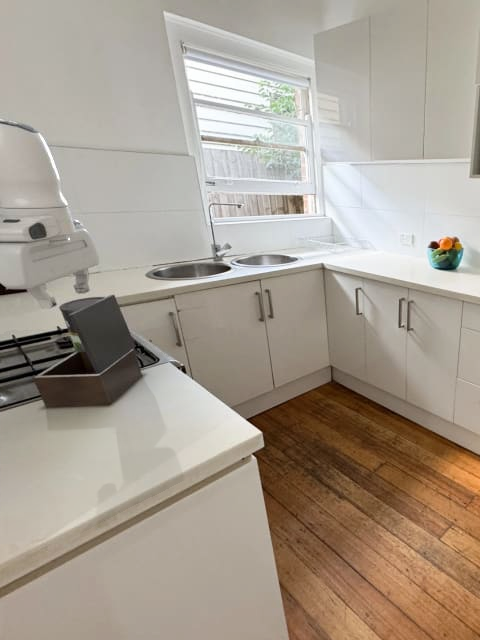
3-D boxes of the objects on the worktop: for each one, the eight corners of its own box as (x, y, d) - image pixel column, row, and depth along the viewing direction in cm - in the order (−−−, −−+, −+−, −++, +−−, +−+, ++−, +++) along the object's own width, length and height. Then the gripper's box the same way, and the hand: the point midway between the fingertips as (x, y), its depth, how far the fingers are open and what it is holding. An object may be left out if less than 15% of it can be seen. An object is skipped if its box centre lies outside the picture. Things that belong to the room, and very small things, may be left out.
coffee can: (73, 368, 90) (52, 312, 84) (84, 351, 98) (66, 299, 93) (126, 360, 94) (109, 306, 89) (132, 345, 103) (117, 294, 97)
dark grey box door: (67, 315, 69) (72, 314, 69) (110, 294, 80) (114, 294, 80) (96, 373, 74) (100, 373, 74) (132, 347, 85) (136, 346, 85)
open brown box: (45, 407, 75) (32, 377, 72) (87, 377, 87) (77, 350, 84) (109, 405, 77) (99, 375, 74) (142, 375, 88) (134, 348, 85)
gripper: (62, 217, 76) (84, 285, 81) (-33, 231, 57) (4, 317, 63) (97, 218, 77) (116, 285, 82) (15, 232, 58) (47, 317, 64)
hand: (67, 299), depth 72 cm, fingers open, 8 cm apart
